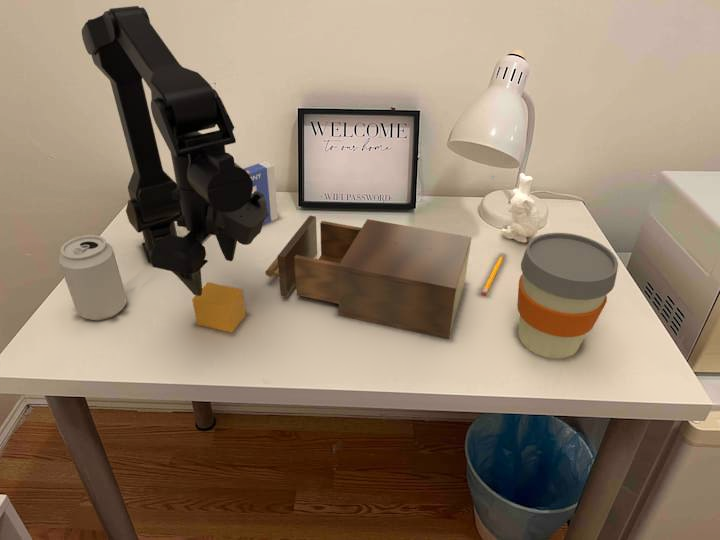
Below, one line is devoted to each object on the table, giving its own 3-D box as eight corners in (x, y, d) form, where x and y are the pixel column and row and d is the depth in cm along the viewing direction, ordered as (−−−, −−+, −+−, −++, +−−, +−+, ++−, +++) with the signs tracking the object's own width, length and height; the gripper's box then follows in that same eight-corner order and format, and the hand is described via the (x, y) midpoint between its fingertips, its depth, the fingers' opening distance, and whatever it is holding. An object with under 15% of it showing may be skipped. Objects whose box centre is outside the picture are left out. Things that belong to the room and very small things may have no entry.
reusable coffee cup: (593, 375, 79) (623, 290, 70) (502, 356, 82) (521, 272, 73) (590, 320, 89) (617, 240, 80) (509, 305, 92) (527, 225, 83)
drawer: (257, 290, 92) (253, 251, 88) (290, 248, 103) (287, 211, 98) (378, 316, 88) (380, 276, 83) (399, 270, 98) (402, 231, 94)
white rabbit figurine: (497, 224, 113) (507, 169, 106) (531, 227, 112) (544, 171, 106) (501, 247, 106) (512, 190, 99) (537, 250, 106) (551, 192, 99)
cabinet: (338, 315, 89) (338, 265, 84) (365, 265, 100) (367, 218, 95) (448, 339, 85) (456, 288, 79) (464, 284, 96) (471, 236, 91)
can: (138, 299, 92) (121, 236, 85) (107, 328, 86) (86, 263, 79) (100, 290, 93) (80, 227, 87) (67, 317, 88) (43, 252, 81)
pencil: (480, 295, 94) (481, 292, 94) (500, 256, 104) (501, 252, 104) (485, 296, 94) (485, 293, 94) (504, 256, 104) (505, 253, 103)
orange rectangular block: (197, 324, 87) (191, 299, 84) (211, 307, 90) (207, 282, 87) (232, 332, 85) (228, 307, 82) (245, 314, 89) (242, 289, 86)
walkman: (247, 231, 109) (240, 175, 102) (239, 226, 111) (232, 170, 104) (279, 218, 114) (275, 163, 107) (271, 213, 115) (266, 158, 109)
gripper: (217, 225, 65) (233, 328, 74) (284, 161, 80) (290, 253, 89) (135, 209, 68) (159, 310, 77) (213, 150, 82) (226, 241, 91)
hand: (214, 276), depth 83 cm, fingers open, 9 cm apart
